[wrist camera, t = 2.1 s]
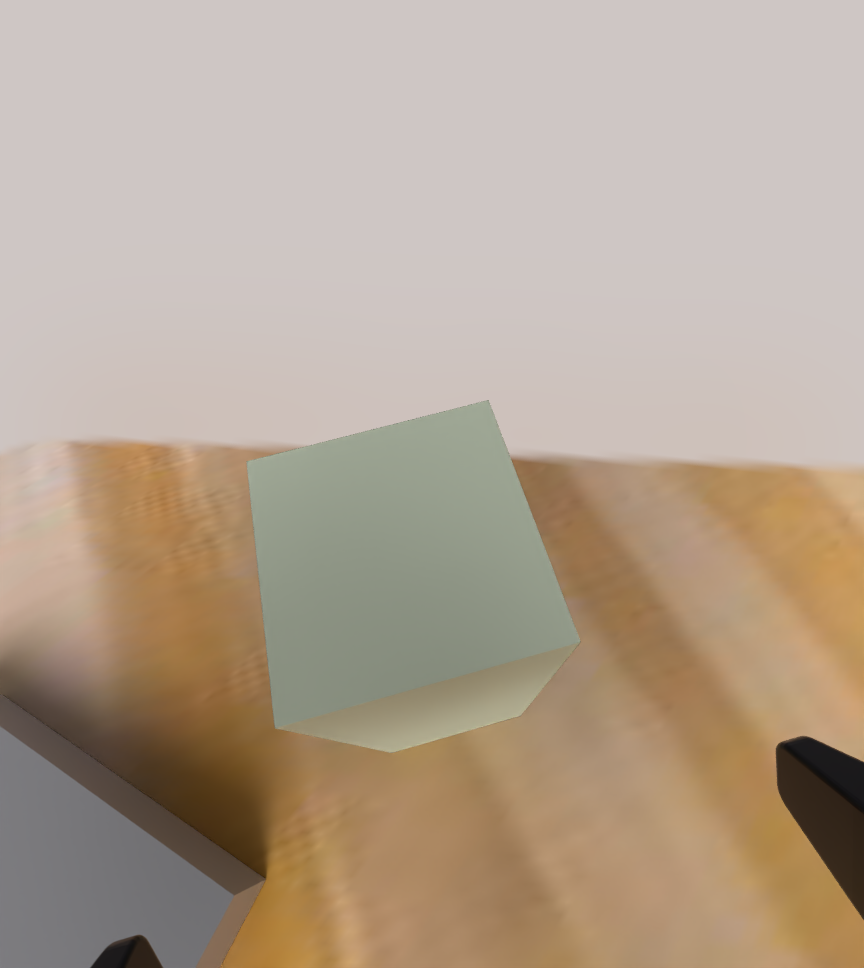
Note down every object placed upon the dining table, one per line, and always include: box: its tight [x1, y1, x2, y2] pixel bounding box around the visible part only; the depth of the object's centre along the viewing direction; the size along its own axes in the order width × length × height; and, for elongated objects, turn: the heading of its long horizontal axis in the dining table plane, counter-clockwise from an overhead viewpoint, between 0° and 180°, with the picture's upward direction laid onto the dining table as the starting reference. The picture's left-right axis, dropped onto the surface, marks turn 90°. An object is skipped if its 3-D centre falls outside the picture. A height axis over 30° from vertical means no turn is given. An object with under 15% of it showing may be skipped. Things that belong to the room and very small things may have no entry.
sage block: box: [247, 400, 581, 753], centre depth 14 cm, size 4×4×12 cm
